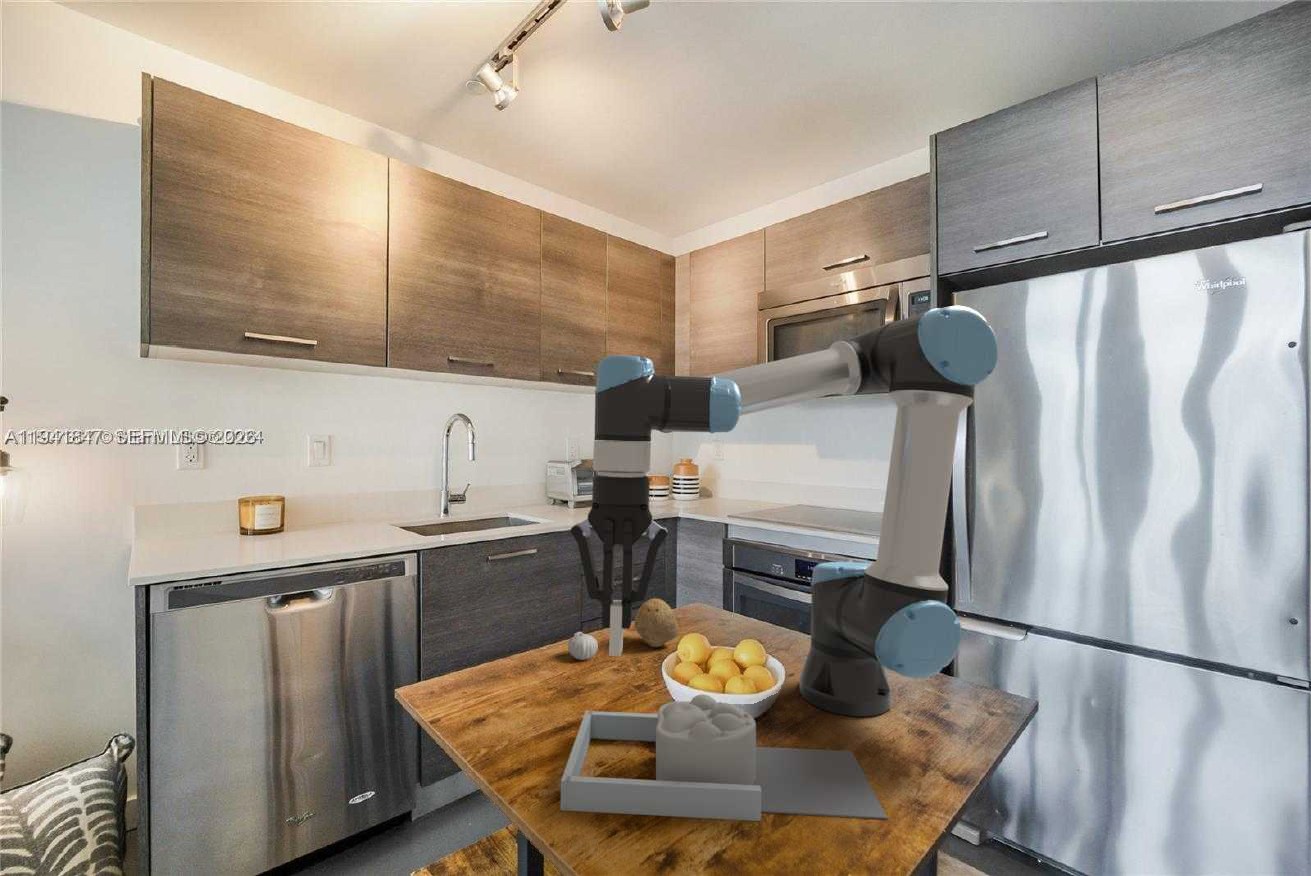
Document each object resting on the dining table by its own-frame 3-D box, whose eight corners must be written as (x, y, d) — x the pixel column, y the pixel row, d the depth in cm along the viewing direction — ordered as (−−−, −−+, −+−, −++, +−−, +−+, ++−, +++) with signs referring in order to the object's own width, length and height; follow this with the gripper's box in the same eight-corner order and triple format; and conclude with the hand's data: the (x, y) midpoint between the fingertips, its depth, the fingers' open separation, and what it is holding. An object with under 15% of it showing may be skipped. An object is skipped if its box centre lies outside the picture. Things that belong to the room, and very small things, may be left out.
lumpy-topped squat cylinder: (658, 750, 80) (658, 689, 80) (750, 753, 79) (751, 691, 79) (654, 797, 70) (654, 727, 70) (761, 800, 69) (761, 729, 69)
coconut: (627, 641, 122) (628, 594, 122) (664, 636, 126) (665, 591, 126) (643, 656, 114) (644, 607, 114) (682, 650, 117) (683, 602, 117)
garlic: (565, 663, 110) (565, 636, 110) (569, 652, 115) (569, 627, 115) (596, 663, 110) (596, 637, 110) (598, 653, 115) (599, 627, 115)
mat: (851, 752, 80) (851, 751, 80) (887, 819, 66) (887, 817, 66) (731, 746, 81) (731, 745, 81) (742, 811, 67) (742, 809, 67)
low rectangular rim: (744, 741, 83) (745, 718, 83) (760, 820, 66) (761, 790, 66) (585, 734, 84) (585, 710, 84) (560, 810, 67) (561, 780, 67)
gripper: (671, 474, 78) (665, 644, 78) (577, 470, 79) (572, 639, 79) (670, 477, 71) (664, 665, 71) (567, 474, 71) (561, 660, 71)
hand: (615, 651), depth 75 cm, fingers closed
